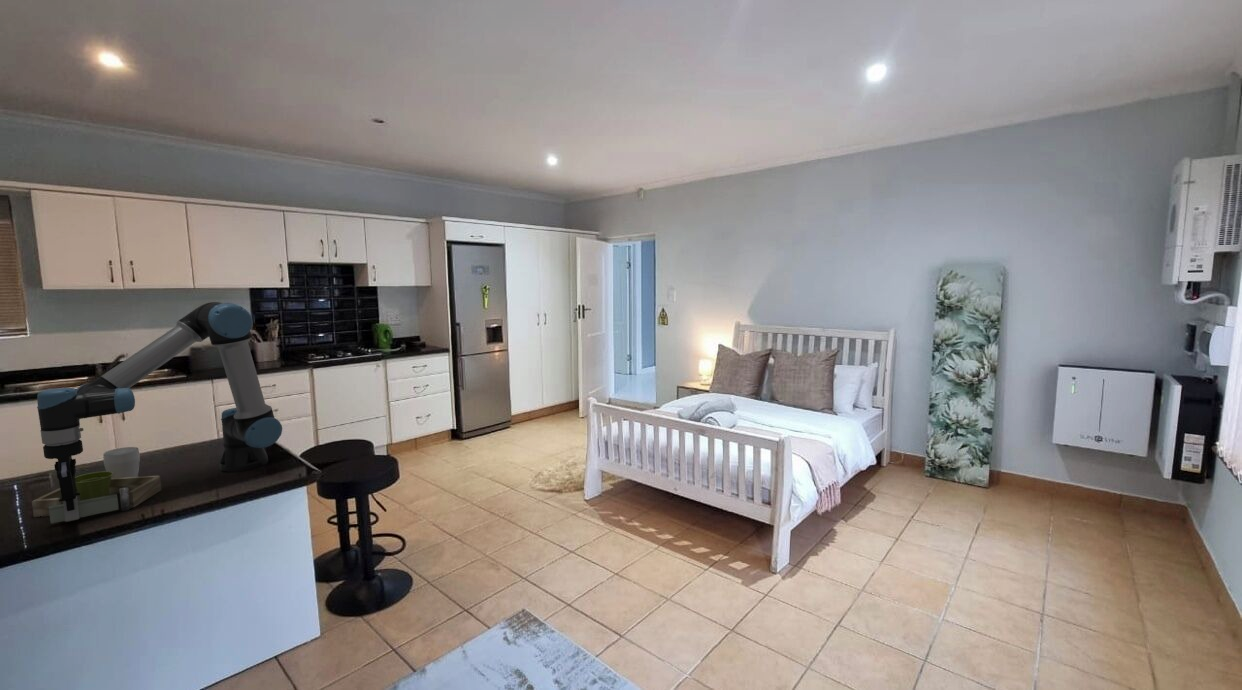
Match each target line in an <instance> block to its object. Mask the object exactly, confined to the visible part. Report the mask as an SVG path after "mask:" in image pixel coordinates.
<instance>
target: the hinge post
mask: <svg viewBox="0 0 1242 690" xmlns="http://www.w3.org/2000/svg"><path fill="white" fill-rule="evenodd" d="M119 492H120V493H119V501H120V502H119V503H120V509H121V510H120V511H121V512H127V511H130V510H131V507H130V500H129V490H128V487H123V488H120V489H119ZM129 509H130V510H129Z"/></svg>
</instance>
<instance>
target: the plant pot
mask: <svg viewBox="0 0 1242 690" xmlns="http://www.w3.org/2000/svg"><path fill="white" fill-rule="evenodd" d="M112 475H113V472H109V471H106V470H105V471H104V470H103V471H94V472H90V473H85V474H81V475H77V476H75V481H76V489H77V493H80V495H79V497H80V501H82V500H87V499H92V498H97V497H103V496H108V495H110V494H109V486H110V480H111V477H112Z"/></svg>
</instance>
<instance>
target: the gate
mask: <svg viewBox="0 0 1242 690" xmlns="http://www.w3.org/2000/svg"><path fill="white" fill-rule="evenodd" d="M118 500H119V499H118V493H116V494H109V495H108V496H103V497H97V498H92V499H87V500H82V501H78V509H79V519H80V518H85V517H88V516H94V515H98V514H102V513H109V512H115V511H117V510H119V501H118ZM49 514H50V516H49V521H50V524H56V523H60V522H65V514H64V506H63V504H61V505H56V506H51V507H49Z"/></svg>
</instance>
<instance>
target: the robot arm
mask: <svg viewBox="0 0 1242 690" xmlns="http://www.w3.org/2000/svg"><path fill="white" fill-rule="evenodd" d="M253 321H254V320H253V318H252V315H251V314H250V312H249V311H248V310H247V309H246V308H244V307H242V306H240V305H238V304H235V303H233V302H232V303H231V302H219V301H218V302H217V301H215V302H214V301H213V302H206V303H204V304H201V305H199V306H198V307H197V308H194V309H193V310H192V311H190V312H189V313H187V314H186V315H184V316H183V317H182V318H180V319H178V320H177V321H176V325H175V326H174V327H172V328H171V329H170V330H168V331H166V332H165V333H163V334H161V336H159V337H157V338H156V339H154V340H153V341H152V342H150V343H149V344H146V346H144V347H143V348H141V349H139V350H137V352H135V353H133V354H132V355H131V356H129V357H128V358H126V359H125V360H123V361H122V362H120V363H118V364H117V365H116V366H114V367H113V368H111V369H110V370H108V371H106V372H105V373H104V374H102V375H101V376H100V377H98V378H96V379H95V380H93V381H92V382H88V383H83V384H81V385H79V386H78V387H77V388H74V387H57V388H56V387H55V388H48V389H44V390H41V391H39V392H38V393H37V395H36V398H37V406H36V408H37V412H38V421H39V426H40V437H41V444H43V447H42V448H43V457H44V458H45V459H48V460H53V459H56V460H57V461H55V462H54V470H55V471H56V477H57V479H58V483H59V488H60V490H61V496H62V498H61V499H59V502H60V501H63V506H64V514H65V521H64V522H65V523H67V522H71V521H77V520H79V519H80V518H79V509H78V501H77V497H76V496H78V495H80V493H76V491H77V489H76V481H75V477H76V471H77V469H76V464H77V460H76V458H73V456H78V455H81V454H82V453H83V452H84V447H83V441H82V439H81V438H82V432H83V431H84V428H83V427H81V426H80V425H81V424H80V420H81V419H82V420H83V419H88V418H95V417H96V418H97V417H100V416H101V417H103V416H109V415H116V414H117V415H118V414H122V413H126V412H127V413H128V412H131V411H133V410H134V409H135V407H136V398H135V395H134V392H133V390H132V389H131V388H132V387H133V386H134V385H136V384H137V383H139V382H140V381H142V380H144V378H146V377H148V376H149V375H151V374H152V373H153V372H154V371H156V370H158V369H159V368H161V367H162V366H163V365H165V364H166V363H168V362H169V361H170V360H172V359H173V358H175V357H176V356H178V355H179V354H181V353H182V352H183V351H185V350H186V349H188V348H189V347H191V346H192V345H193V344H195V343H202V342H203V341H205V340H206V339H207V338H209V341H210V344H211V346H213V347H215V348H217V349H218V351H219V356H220V359H221V361H222V364H223V368H224V371H225V375H226V378H227V381H228V385H229V388H230V391H231V395H232V398H233V401H234V404H235V407H233V408H228V409H225V410H223V411H222V412H221V419H220V420H221V429H222V442H223V451H222V454H221V456H220V460H219V466H218V467H219V470H220V471H221V472H228V473H237V472H246V471H250V470H255V469H257V468H260V467H262V466H264V465H266V464H268V462H269V457H268V454H267V452H266V450H265V448H268V447H270V446H272V445H274V444H275V443H276V442H278V440H279V439H280V437H281V436H282V433H283V425H282V423H281V422H280V421H279V419H277V418H275V415H274V411H273V408H272V406H271V405H269V404H266V401H265V397H264V395H263V394H264V393H263V391H262V388H261V383H260V379H259V377H258V374H257V369H256V366H255V363H254V360H253V356H252V353H251V348H250V345H249V342H250V340H252V338H253V337H252V333H251V330H252V328H253Z"/></svg>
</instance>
